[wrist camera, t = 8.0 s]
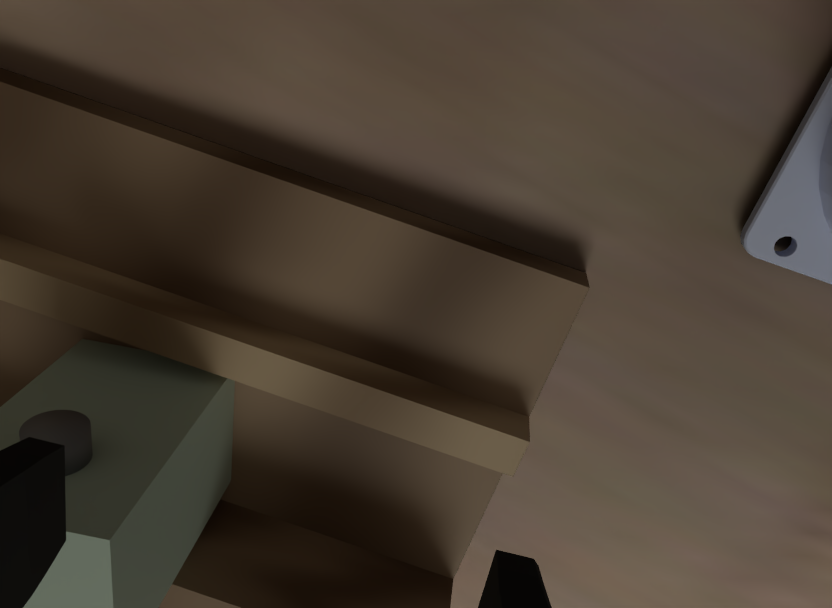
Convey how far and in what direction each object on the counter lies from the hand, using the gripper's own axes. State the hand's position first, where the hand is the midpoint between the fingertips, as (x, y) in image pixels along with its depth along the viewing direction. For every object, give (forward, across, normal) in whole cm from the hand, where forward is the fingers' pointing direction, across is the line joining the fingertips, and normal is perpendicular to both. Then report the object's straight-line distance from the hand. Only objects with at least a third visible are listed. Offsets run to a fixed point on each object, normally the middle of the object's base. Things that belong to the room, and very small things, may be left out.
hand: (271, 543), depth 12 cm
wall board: (+9, +5, +2) cm, 11 cm away
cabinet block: (+8, +6, +4) cm, 11 cm away
